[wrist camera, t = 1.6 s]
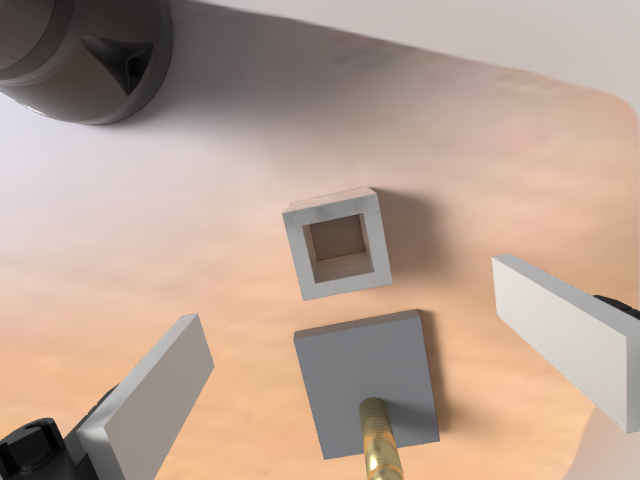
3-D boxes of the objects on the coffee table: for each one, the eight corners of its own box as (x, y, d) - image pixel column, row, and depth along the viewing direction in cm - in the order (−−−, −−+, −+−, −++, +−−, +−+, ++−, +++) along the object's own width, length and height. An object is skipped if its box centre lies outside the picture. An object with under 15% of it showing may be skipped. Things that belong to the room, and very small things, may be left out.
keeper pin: (356, 399, 33) (366, 484, 25) (384, 395, 33) (405, 478, 24) (361, 423, 34) (373, 513, 25) (389, 418, 34) (410, 508, 25)
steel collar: (290, 203, 30) (282, 213, 25) (367, 186, 30) (377, 193, 24) (307, 275, 32) (303, 301, 26) (380, 260, 32) (392, 283, 26)
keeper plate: (294, 332, 33) (293, 339, 32) (416, 309, 33) (420, 316, 31) (324, 447, 36) (324, 459, 35) (435, 429, 36) (440, 441, 34)
